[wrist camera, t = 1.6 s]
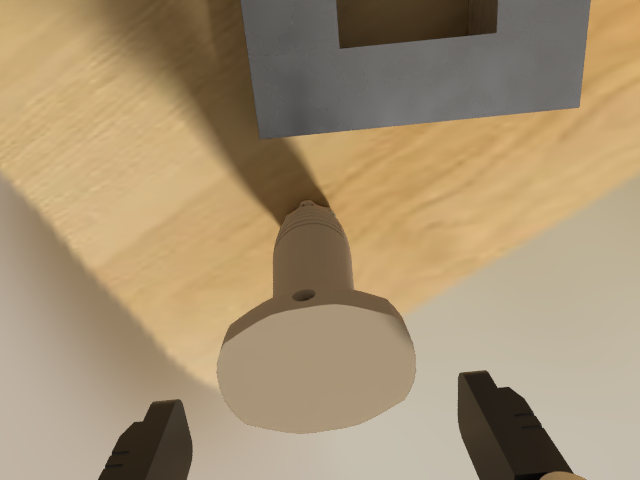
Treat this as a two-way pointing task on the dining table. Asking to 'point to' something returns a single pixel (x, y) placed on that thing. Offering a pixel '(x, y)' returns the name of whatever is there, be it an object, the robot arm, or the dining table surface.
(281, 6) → the block
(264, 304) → the handle
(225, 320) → the dining table surface
